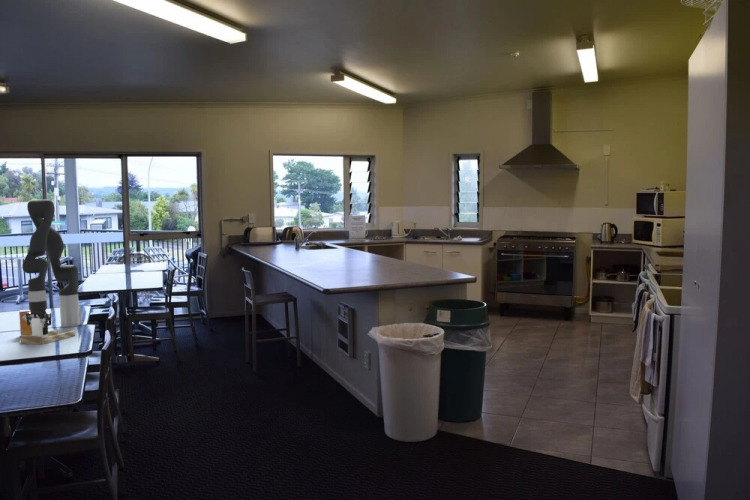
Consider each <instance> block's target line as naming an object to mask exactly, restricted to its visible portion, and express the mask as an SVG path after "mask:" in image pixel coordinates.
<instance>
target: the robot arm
mask: <svg viewBox="0 0 750 500" xmlns="http://www.w3.org/2000/svg"><path fill="white" fill-rule="evenodd" d="M26 209H27V211H28V212H27V213H28V215H29V217H30V219H31V221H32V223H33V225H34V226H35V228H36V230H35V231H34V232H33V234H32V235H31V237H30V239H29V246H28V247H29V248H28V251H27V254H26V256H25V257H24V259H23V261H22V265H21V266H22V267H21V268H22V270H23V272H24V273H25V274H38V275H37V276H36V277H32V278H29V279H28V281H27V285H28V287H27V288H28V289H27V290H28V294H27V296H28V309H29V310H30V311H31V312H29V313H26V319H27V325H30V326H31V332H32V325H31V322H30V321H31V320H32V317H33V318H39V319H40V323H42V326H43V327H42V328H43V335H47V334H48V331H49V327H50V326H52V313H51V312H47V309H48V302H47V301H48V299H47V298H48V297H47V292H46V277H47V273H48V269H49V263H50V267H51V270H52V273H53V277H54V279H55V281H57V283H68V285H67V286H66V287H64V288H60V289H59V290H58V300H59V301H58V302H59V314H60V315H59V316H60V317H59V318H60V327H61V328H70V327H71V328H72V327H77V326H80V325H82V314H81V311H82V310H81V307H80V303H79V270H78V267H77V266H76V265H74V264H66V265H65V264H64V265H63V264H62V263H61V260H60V259H61V257H62V254H63V252H64V249H65V243H64V240H63V238H62V236H61V234H60V233H59V232H58V231H57V230H56V229H55V228H53V227H52V223H53V219H54V217H55V212H56V210H55V209H56V207H55V204H54V202H53V201H52V200H51V199H34V200H30V201H29V200H28V202H27V208H26ZM45 254H46V255H47V257H48V259H49V262H48V260H47V259H46V258H44V257H43V256H45ZM39 257H40V258H39ZM42 257H43V258H42ZM40 317H41V318H40ZM44 318H45V320H44V321H42V320H41V319H44ZM29 320H30V321H29ZM44 322H45V324H44Z"/></svg>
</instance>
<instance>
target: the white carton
mask: <svg viewBox="0 0 750 500" xmlns="http://www.w3.org/2000/svg"><path fill="white" fill-rule="evenodd" d="M40 318H41V317H40ZM41 320H42V321H44V320H45V318H44V319H41ZM44 324H45V322H44ZM31 325H32V336H38V337H42V338H45V337H48V334H47V335H43V328H42V327H43V326H42V323H40V319H39V318H33V317H32V320H31Z"/></svg>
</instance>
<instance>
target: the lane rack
mask: <svg viewBox="0 0 750 500" xmlns="http://www.w3.org/2000/svg"><path fill="white" fill-rule="evenodd" d="M71 337H75V330H69V331H66V332H62V333H59V332H58V329H53V330H48V337H45V338H42V337H38V336H32V335H31V336H23V335H22V336H21V335H19V339H20V344H26V345H38V346H39V345H44V344H45V345H46V344H47V343H53V342H57V341H60V340H64V339H66V338H67V339H68V338H71Z"/></svg>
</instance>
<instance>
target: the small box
mask: <svg viewBox="0 0 750 500" xmlns="http://www.w3.org/2000/svg"><path fill="white" fill-rule="evenodd" d="M29 312H31V311H30V310H29V308H28V309H20V310H18V314H19V315H18V316H19V330H20V331H19V333H20V336H22V335H23V336H31V335H32V332H31V326H30V325H27V319H26V313H29ZM29 321H30V320H29ZM30 322H31V321H30Z"/></svg>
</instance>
